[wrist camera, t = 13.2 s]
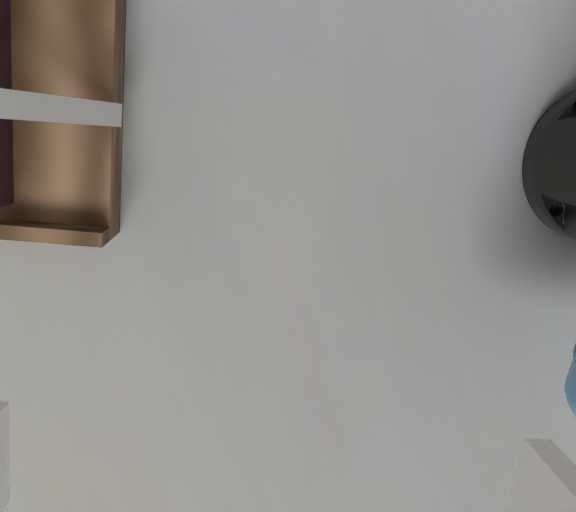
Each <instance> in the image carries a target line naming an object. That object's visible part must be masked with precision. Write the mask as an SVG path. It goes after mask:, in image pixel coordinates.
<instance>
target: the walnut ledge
mask: <svg viewBox="0 0 576 512" xmlns="http://www.w3.org/2000/svg"><path fill="white" fill-rule="evenodd" d="M10 11H11V65H12V90H19V91H27V92H35V93H42V94H50V95H58V96H66V97H73V98H81V99H89V100H97V101H104V102H112V103H120V104H122V124H121V127H112V126H98V125H84V124H70V123H56V122H42V121H28V120H14V119H12V120H13V175H14V203H12V204H10V205H7V206H4V207H2V208H0V239H2V240H15V241H27V242H40V243H52V244H65V245H77V246H90V247H103V246H104V245H105V244H106V243H108V242H109V241H110V240H111V239H112V238H113V237H114V236H116V235H117V234H118V233H119V232H120V198H121V164H122V130H123V96H124V62H125V28H126V0H10Z"/></svg>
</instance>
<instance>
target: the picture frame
mask: <svg viewBox="0 0 576 512" xmlns="http://www.w3.org/2000/svg"><path fill="white" fill-rule="evenodd" d="M12 119H14V120H28V121H42V122H56V123H70V124H84V125H98V126H112V127H121V124H122V104H120V103H112V102H104V101H97V100H89V99H81V98H73V97H66V96H58V95H50V94H42V93H35V92H27V91H19V90H12V65H11V11H10V0H0V208H2V207H4V206H7V205H10V204H12V203H14V175H13V120H12Z"/></svg>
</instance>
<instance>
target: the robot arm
mask: <svg viewBox="0 0 576 512" xmlns="http://www.w3.org/2000/svg"><path fill="white" fill-rule="evenodd" d="M522 175H523V185H524V190H525V194H526V197H527V200H528V202H529V204H530V206H531V208H532V209H533V211H534V212H535V214H536V215H537V216H538V218H539V219H540V220H541V221H542V222H543V223H545V224H546V225H547V226H548V227H550V228H551V229H553V230H555V231H557V232H559V233H561V234H563V235H566V236H569V237H572V238H576V90H574V91H572V92H570V93H568V94H567V95H565V96H564V97H562V98H561V99H559V100H558V101H557V102H556V103H554V104H553V105H552V106H551V107H550V108H549V109H548V110H547V111H546V113H545V114H544V115H543V116H542V117H541V119H540V120H539V122H538V123H537V125H536V126H535V128H534V130H533V132H532V134H531V136H530V138H529V141H528V143H527V146H526V150H525V154H524V159H523V169H522ZM565 393H566V396H567V401H568V404H569V406H570V408H571V410H572V412H573V413H574V415H575V416H576V344H575V346H574V350H573V360H572V363H571V366H570V369H569V372H568V375H567V378H566V381H565ZM9 500H10V466H9V402H4V401H0V512H2V511H3V509H4V508H5V506H6V504H7V503H8V501H9ZM506 512H576V466H575V465H574V464H573V462H572V461H571V460H570V459H569V458H568V457H567V456H566V455H565V454H564V453H563V452H562V451H561V450H560V449H559V448H558V447H557V446H556V445H555V444H554V443H553V441H552V440H542V439H528V438H524V440H523V444H522V448H521V452H520V456H519V460H518V464H517V468H516V472H515V476H514V480H513V484H512V488H511V492H510V496H509V500H508V504H507V508H506Z"/></svg>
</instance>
